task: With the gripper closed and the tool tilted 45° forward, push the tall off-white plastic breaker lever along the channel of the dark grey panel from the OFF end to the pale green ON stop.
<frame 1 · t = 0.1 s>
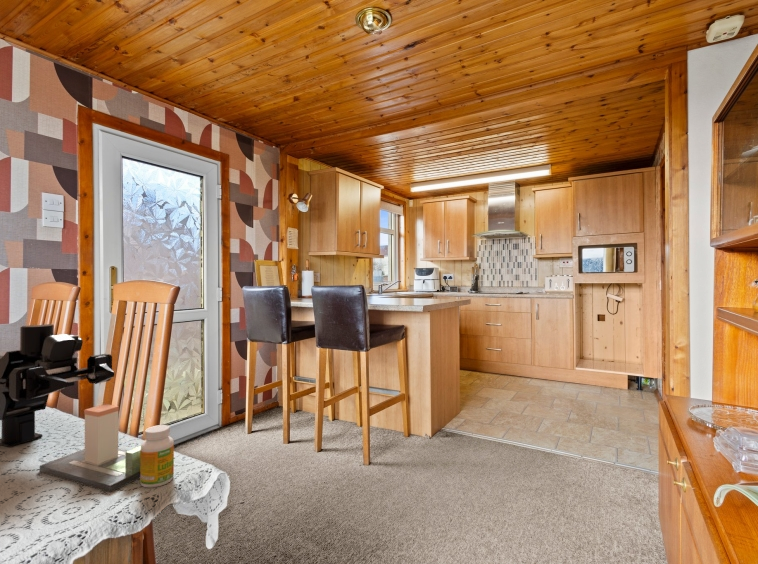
hand: (91, 379, 82), 17 cm above the table, tool horizontal, fingers open, 9 cm apart
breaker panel: (103, 468, 78), on the table
supplement bottle: (157, 482, 73), on the table
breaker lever: (101, 433, 80), point 6 cm above the table, slide at 0.0 cm
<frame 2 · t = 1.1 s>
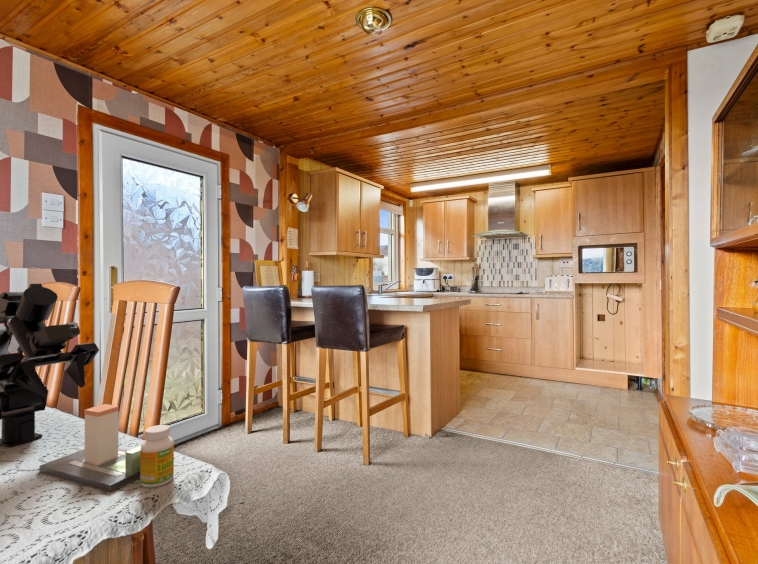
hand: (65, 390, 84), 14 cm above the table, tool tilted 45°, fingers open, 7 cm apart
nothing on the table moved.
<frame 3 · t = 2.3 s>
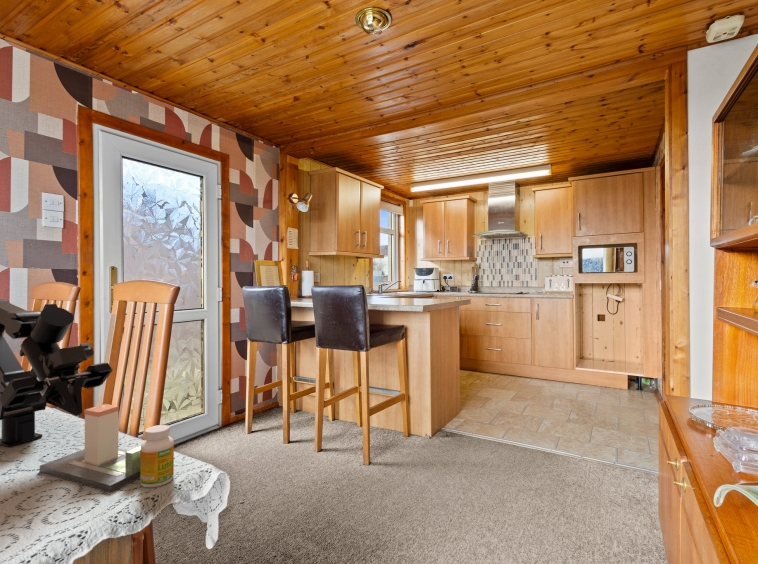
hand: (79, 414, 82), 9 cm above the table, tool tilted 45°, fingers closed
nothing on the table moved.
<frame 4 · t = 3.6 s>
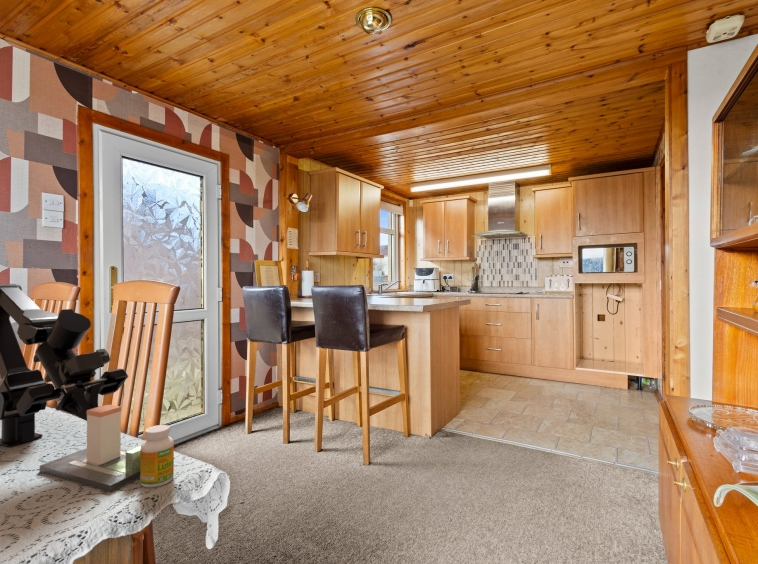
hand: (96, 422, 80), 8 cm above the table, tool tilted 45°, fingers closed, pressing on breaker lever
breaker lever: (103, 433, 79), point 6 cm above the table, slide at 0.7 cm, touching gripper
everything else where it was.
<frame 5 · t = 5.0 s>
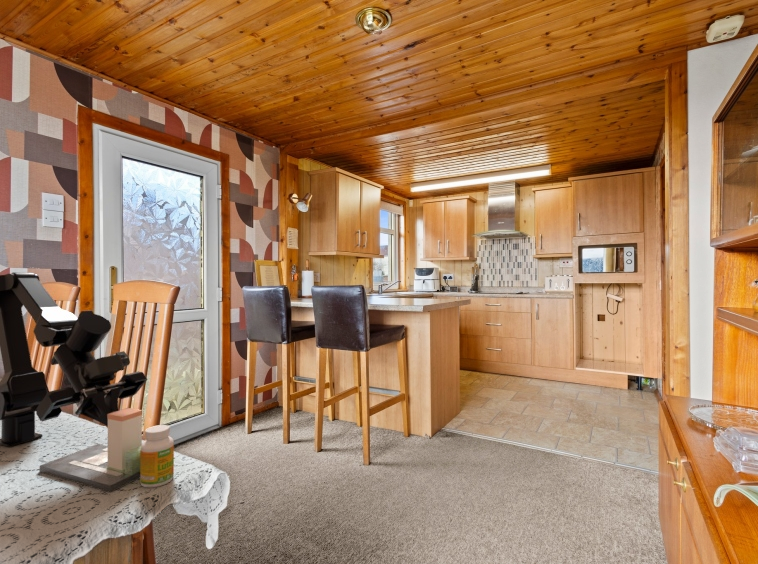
hand: (116, 427, 78), 8 cm above the table, tool tilted 45°, fingers closed
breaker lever: (124, 438, 77), point 6 cm above the table, slide at 6.7 cm
everything else where it was.
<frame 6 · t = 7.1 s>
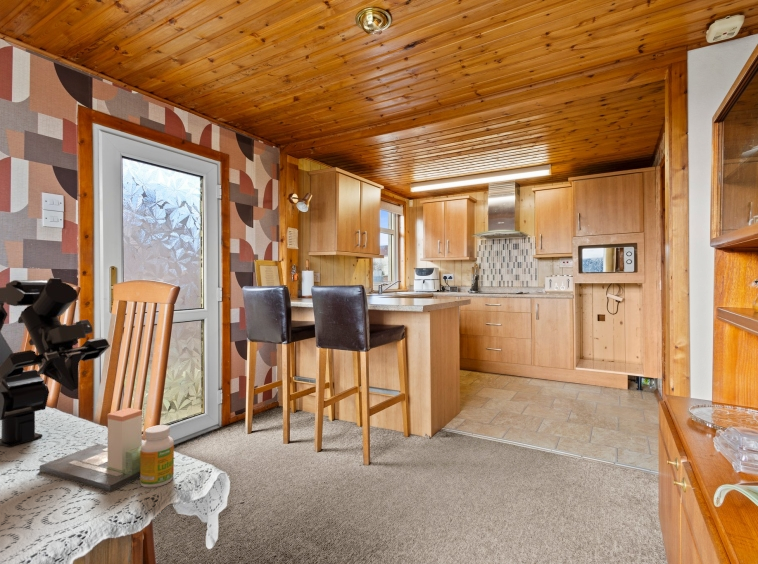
hand: (75, 389, 85), 14 cm above the table, tool tilted 35°, fingers closed
nothing on the table moved.
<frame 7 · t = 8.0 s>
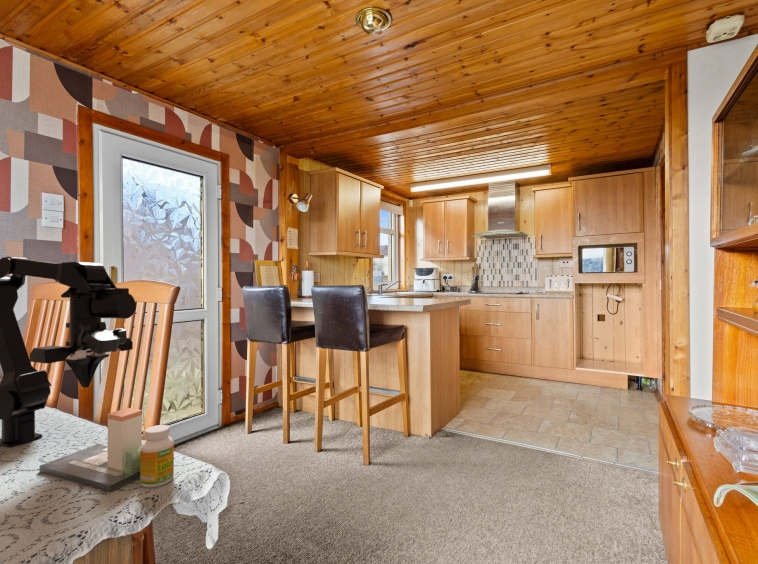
hand: (85, 387, 89), 13 cm above the table, tool pointing down, fingers closed
nothing on the table moved.
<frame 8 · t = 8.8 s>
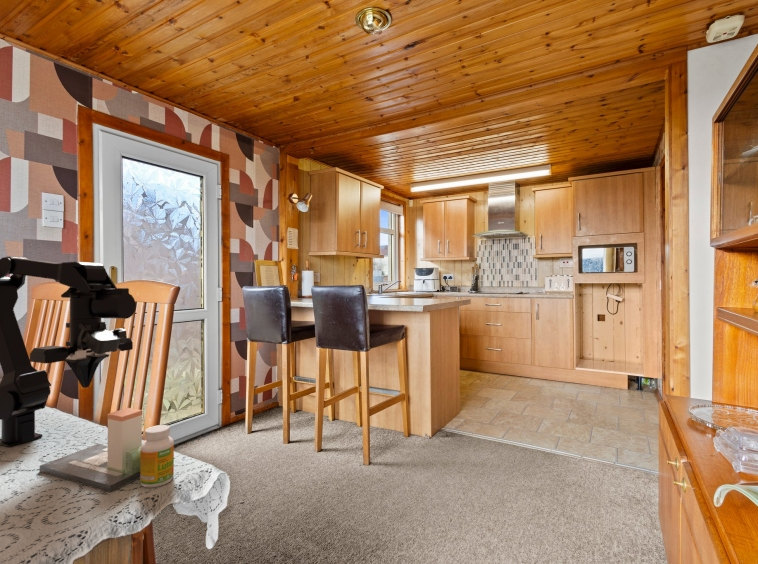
hand: (85, 387, 89), 13 cm above the table, tool pointing down, fingers closed
nothing on the table moved.
at the end: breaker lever slide at 6.7 cm; the gripper is holding nothing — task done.
